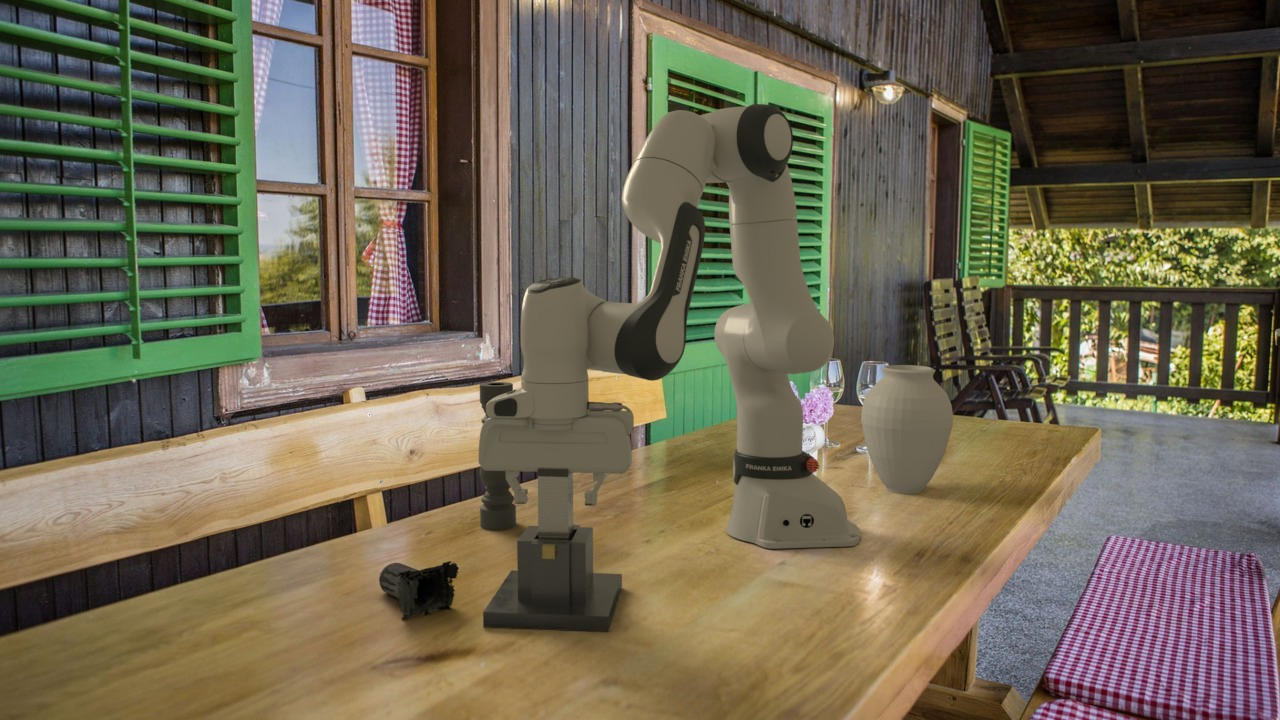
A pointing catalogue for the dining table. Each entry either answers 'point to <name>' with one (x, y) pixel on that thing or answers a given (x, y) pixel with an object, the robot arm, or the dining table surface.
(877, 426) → the vase
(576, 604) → the stand
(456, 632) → the dining table surface
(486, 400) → the candle holder
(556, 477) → the column
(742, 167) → the robot arm
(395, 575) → the dark flanged cylinder
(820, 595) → the dining table surface
